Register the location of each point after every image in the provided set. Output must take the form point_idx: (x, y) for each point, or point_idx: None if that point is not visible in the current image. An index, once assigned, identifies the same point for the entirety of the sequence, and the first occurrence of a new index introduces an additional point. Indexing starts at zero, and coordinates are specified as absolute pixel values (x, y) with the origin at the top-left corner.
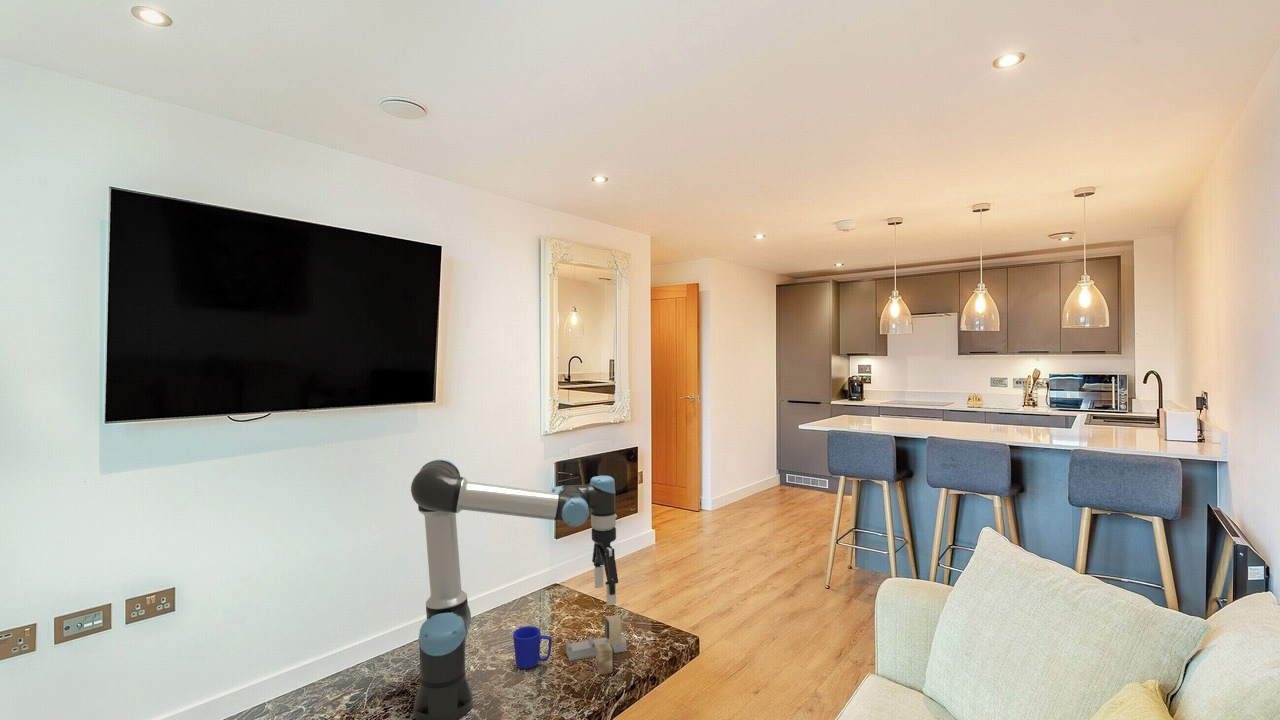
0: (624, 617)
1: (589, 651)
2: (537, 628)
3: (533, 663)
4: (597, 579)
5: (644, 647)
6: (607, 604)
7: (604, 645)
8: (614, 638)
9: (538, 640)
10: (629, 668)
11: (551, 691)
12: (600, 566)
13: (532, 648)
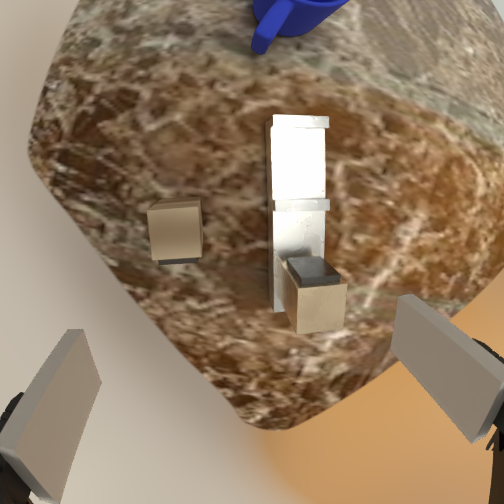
0: None
1: (270, 188)
2: (334, 2)
3: (256, 16)
4: (430, 343)
5: (272, 346)
6: (65, 333)
7: (187, 237)
8: (282, 282)
9: (274, 1)
10: (173, 288)
11: (120, 59)
12: (490, 423)
13: None
